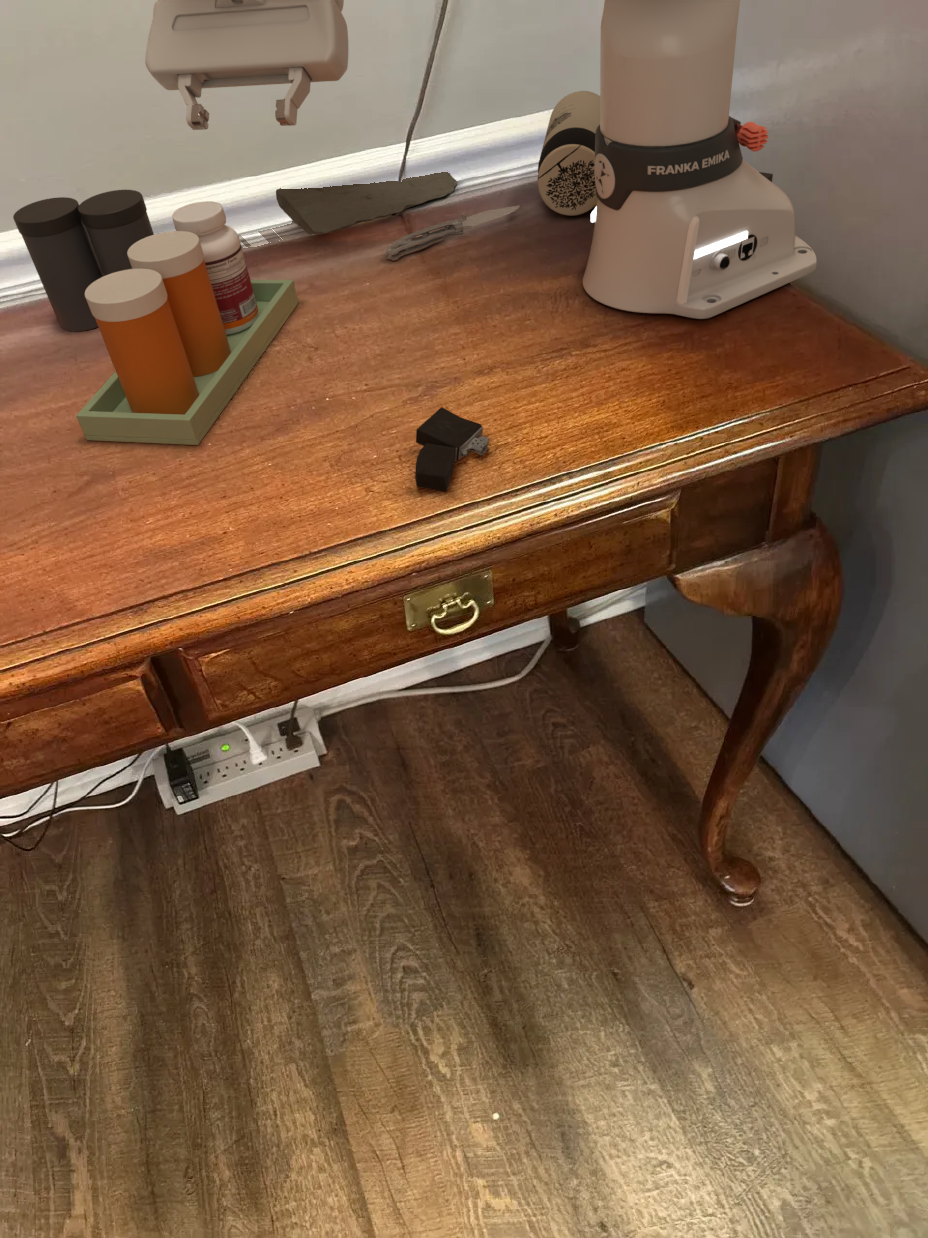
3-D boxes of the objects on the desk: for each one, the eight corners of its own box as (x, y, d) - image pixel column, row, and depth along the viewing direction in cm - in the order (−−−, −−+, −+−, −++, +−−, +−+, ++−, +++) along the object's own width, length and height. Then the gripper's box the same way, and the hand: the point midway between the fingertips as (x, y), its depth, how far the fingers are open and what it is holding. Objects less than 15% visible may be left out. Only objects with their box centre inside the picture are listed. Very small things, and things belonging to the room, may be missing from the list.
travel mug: (625, 139, 116) (620, 196, 103) (567, 171, 119) (556, 231, 107) (597, 76, 111) (588, 127, 99) (537, 111, 115) (522, 166, 102)
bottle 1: (225, 338, 92) (192, 224, 84) (239, 366, 87) (204, 249, 80) (162, 355, 90) (122, 241, 83) (172, 384, 86) (131, 267, 79)
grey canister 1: (114, 298, 102) (75, 191, 94) (121, 321, 98) (80, 212, 90) (56, 313, 101) (11, 206, 93) (61, 337, 96) (14, 227, 89)
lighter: (384, 478, 73) (440, 505, 71) (384, 457, 71) (442, 484, 70) (440, 426, 77) (494, 450, 76) (441, 405, 76) (497, 430, 74)
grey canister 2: (172, 291, 102) (137, 184, 94) (182, 314, 98) (146, 204, 90) (115, 306, 101) (74, 198, 93) (122, 330, 96) (80, 219, 88)
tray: (204, 301, 99) (197, 278, 97) (298, 302, 97) (293, 279, 95) (86, 440, 82) (75, 415, 80) (198, 445, 79) (189, 419, 78)
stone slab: (312, 218, 104) (269, 187, 109) (315, 243, 106) (272, 211, 111) (475, 177, 114) (428, 150, 119) (474, 200, 116) (428, 172, 121)
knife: (527, 202, 106) (512, 194, 108) (388, 251, 101) (376, 241, 103) (527, 216, 107) (513, 208, 109) (390, 265, 102) (378, 255, 104)
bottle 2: (194, 378, 87) (155, 261, 79) (206, 410, 82) (167, 290, 75) (127, 397, 85) (80, 280, 78) (136, 430, 81) (88, 310, 73)
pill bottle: (194, 316, 96) (160, 206, 88) (254, 302, 97) (225, 191, 89) (202, 343, 91) (166, 229, 84) (265, 328, 92) (235, 214, 85)
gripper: (138, -31, 92) (127, 112, 92) (336, -49, 87) (325, 102, 87) (172, 11, 98) (162, 144, 98) (359, -4, 93) (348, 136, 93)
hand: (240, 124), depth 92 cm, fingers open, 8 cm apart
